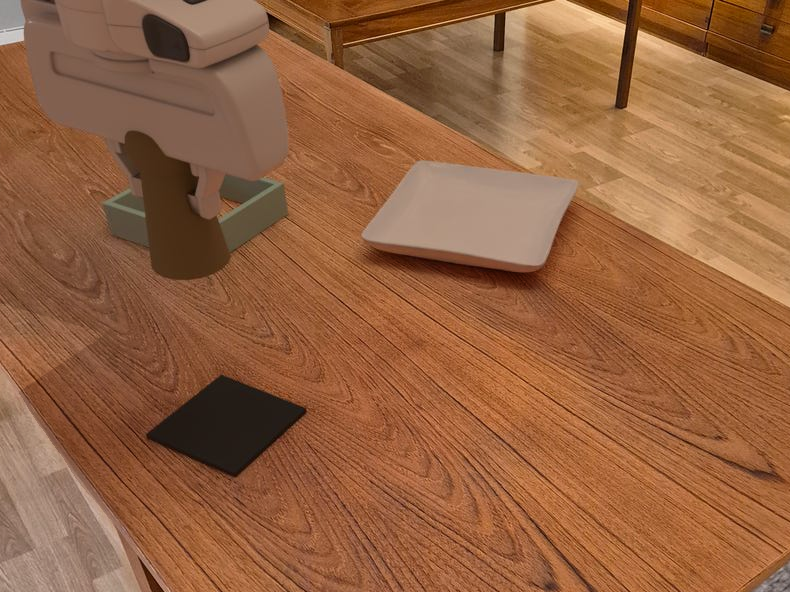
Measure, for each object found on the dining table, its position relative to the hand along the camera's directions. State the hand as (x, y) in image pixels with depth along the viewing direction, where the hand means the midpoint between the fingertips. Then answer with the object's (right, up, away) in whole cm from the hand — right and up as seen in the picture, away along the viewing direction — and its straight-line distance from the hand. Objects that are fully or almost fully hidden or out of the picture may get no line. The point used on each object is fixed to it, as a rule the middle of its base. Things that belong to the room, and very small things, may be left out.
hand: (177, 204), depth 66 cm
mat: (0, -15, +14) cm, 21 cm away
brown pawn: (0, -3, +3) cm, 5 cm away
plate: (+22, +9, +40) cm, 47 cm away
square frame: (-11, +10, +40) cm, 43 cm away
